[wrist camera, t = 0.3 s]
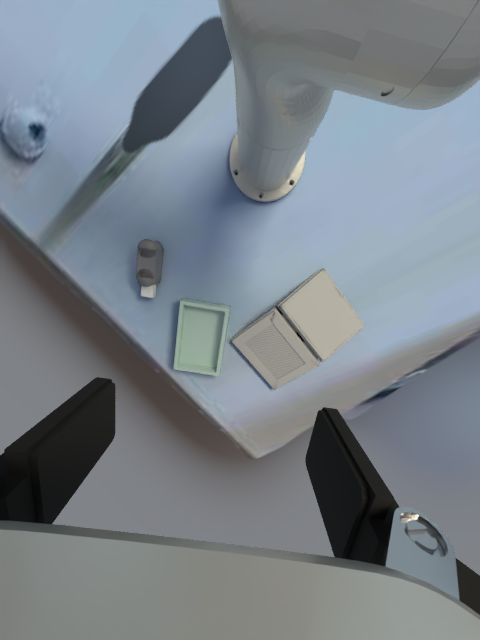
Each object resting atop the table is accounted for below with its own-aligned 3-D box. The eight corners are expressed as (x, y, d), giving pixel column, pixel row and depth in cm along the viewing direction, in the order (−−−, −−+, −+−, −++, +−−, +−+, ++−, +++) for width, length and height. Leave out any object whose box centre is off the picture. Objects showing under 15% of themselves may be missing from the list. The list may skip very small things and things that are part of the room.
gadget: (320, 267, 43) (327, 267, 40) (362, 324, 46) (372, 330, 42) (230, 337, 47) (229, 344, 43) (274, 386, 50) (276, 396, 46)
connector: (146, 239, 42) (138, 237, 38) (163, 242, 42) (156, 240, 38) (144, 293, 44) (135, 296, 41) (160, 296, 44) (153, 299, 41)
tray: (183, 298, 44) (180, 300, 42) (230, 306, 45) (229, 308, 42) (177, 363, 48) (173, 369, 45) (220, 370, 48) (218, 376, 46)
